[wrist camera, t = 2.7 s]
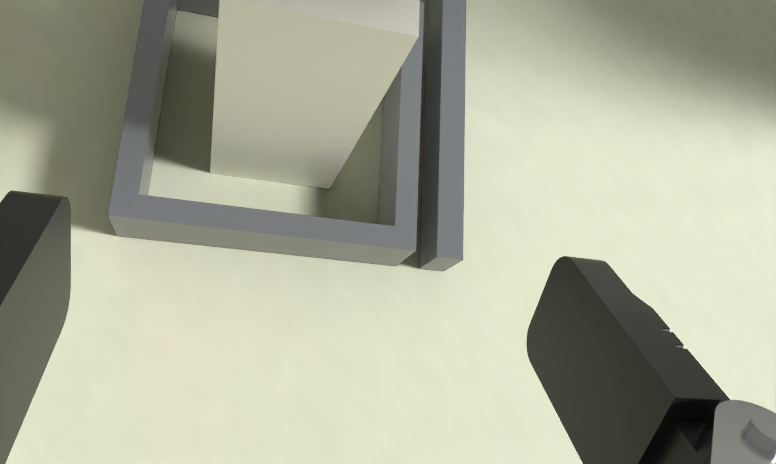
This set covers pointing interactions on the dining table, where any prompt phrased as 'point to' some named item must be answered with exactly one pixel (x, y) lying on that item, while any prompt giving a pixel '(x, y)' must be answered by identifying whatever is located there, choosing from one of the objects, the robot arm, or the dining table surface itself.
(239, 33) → the plug
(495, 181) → the dining table surface
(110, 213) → the panel
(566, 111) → the dining table surface
